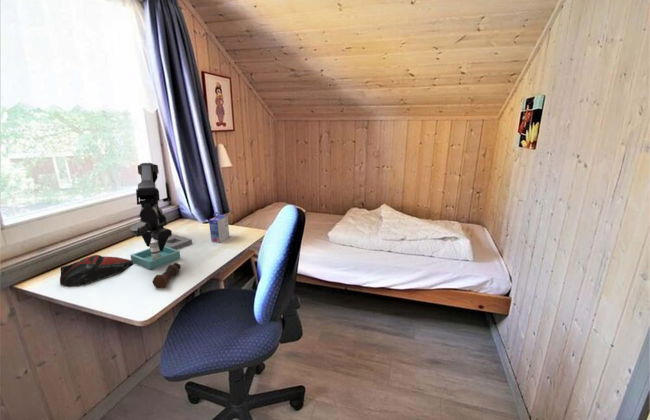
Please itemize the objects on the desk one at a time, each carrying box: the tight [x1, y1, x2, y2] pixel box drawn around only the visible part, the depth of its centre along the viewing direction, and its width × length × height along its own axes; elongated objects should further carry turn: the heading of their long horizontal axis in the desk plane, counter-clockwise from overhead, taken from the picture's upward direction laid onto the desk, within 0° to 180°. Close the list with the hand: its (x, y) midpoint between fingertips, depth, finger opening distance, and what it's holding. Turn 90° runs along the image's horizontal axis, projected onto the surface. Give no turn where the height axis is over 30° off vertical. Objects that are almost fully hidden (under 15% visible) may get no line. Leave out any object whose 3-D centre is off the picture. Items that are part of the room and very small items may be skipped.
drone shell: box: [59, 254, 133, 288], centre depth 126 cm, size 21×20×8 cm
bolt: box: [151, 262, 182, 289], centre depth 124 cm, size 6×5×15 cm
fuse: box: [149, 241, 161, 260], centre depth 139 cm, size 4×4×7 cm
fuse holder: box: [165, 234, 193, 250], centre depth 156 cm, size 12×12×2 cm
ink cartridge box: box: [208, 211, 230, 244], centre depth 164 cm, size 10×6×14 cm, turn 167°
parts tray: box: [129, 246, 182, 271], centre depth 139 cm, size 14×14×4 cm
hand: (154, 248), depth 138 cm, fingers open, 9 cm apart
